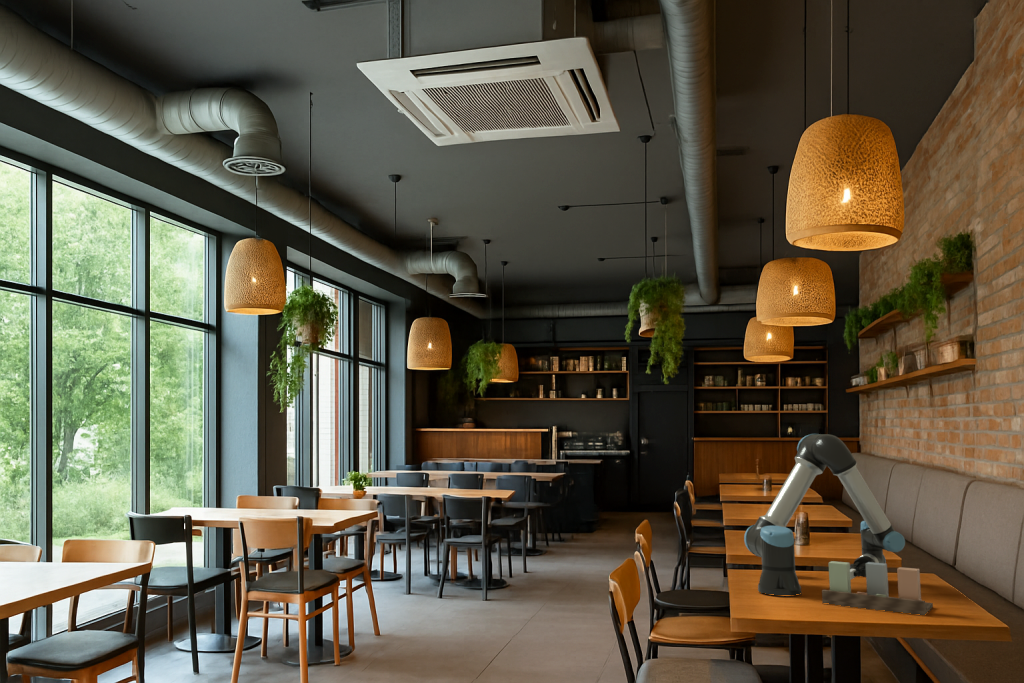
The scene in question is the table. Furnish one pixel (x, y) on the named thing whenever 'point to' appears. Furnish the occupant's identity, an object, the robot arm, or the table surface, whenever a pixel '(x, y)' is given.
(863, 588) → the table surface
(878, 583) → the blue-grey upright slab
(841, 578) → the pale green upright slab
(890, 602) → the keypad console
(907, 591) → the terracotta key
